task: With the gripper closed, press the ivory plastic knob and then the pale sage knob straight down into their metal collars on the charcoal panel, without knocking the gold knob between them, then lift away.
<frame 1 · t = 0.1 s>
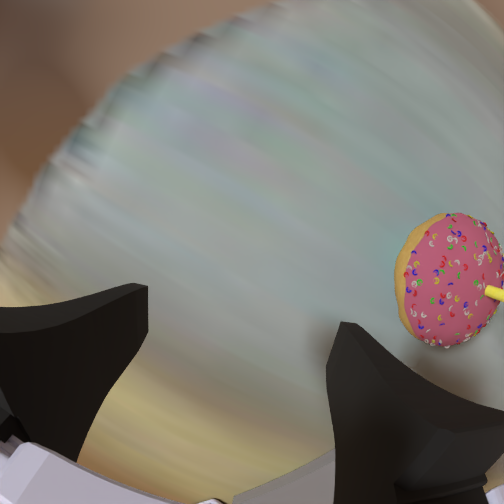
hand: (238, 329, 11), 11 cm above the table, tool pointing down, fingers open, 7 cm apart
cupcake: (423, 268, 20), on the table
panel: (368, 501, 23), on the table
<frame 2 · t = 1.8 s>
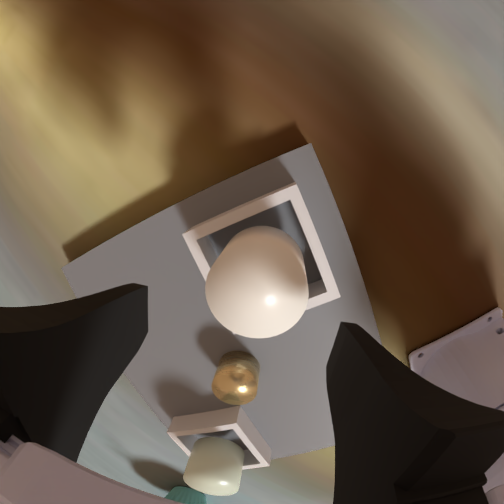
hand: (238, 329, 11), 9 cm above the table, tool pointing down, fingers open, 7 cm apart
gold knob: (239, 367, 21), point 1 cm above the table, touching panel
cupcake: (190, 492, 31), on the table
ivory knob: (259, 278, 14), point 5 cm above the table, slide at 0.0 cm
panel: (242, 355, 22), on the table
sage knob: (214, 467, 20), point 5 cm above the table, slide at 0.0 cm
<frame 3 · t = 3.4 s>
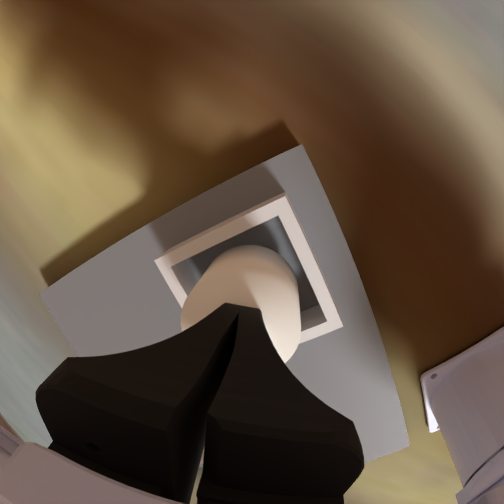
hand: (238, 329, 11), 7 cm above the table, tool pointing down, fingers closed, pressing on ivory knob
ivory knob: (245, 308, 12), point 5 cm above the table, slide at 0.6 cm, touching gripper
panel: (236, 384, 19), on the table
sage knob: (212, 498, 17), point 5 cm above the table, slide at 0.0 cm
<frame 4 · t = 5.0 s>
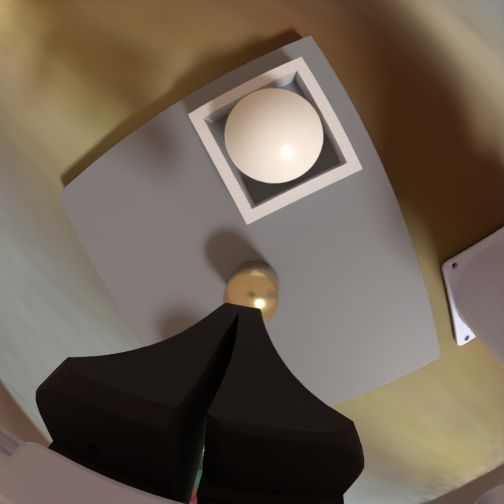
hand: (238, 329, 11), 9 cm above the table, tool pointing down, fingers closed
gold knob: (254, 283, 19), point 1 cm above the table, touching panel
cupcake: (204, 476, 29), on the table
ivory knob: (274, 138, 14), point 3 cm above the table, slide at 2.0 cm, touching panel
panel: (257, 275, 20), on the table
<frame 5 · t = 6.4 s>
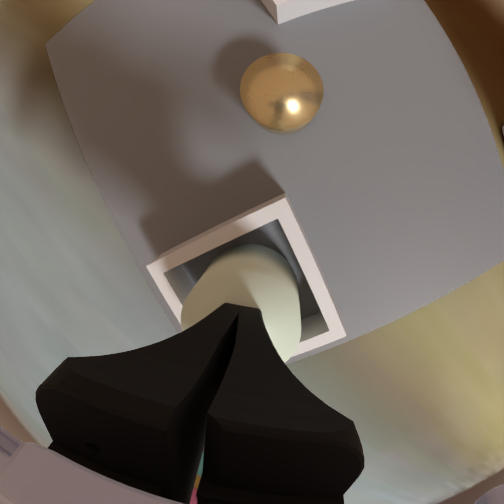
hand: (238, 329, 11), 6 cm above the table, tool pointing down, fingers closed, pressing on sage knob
gold knob: (282, 102, 12), point 1 cm above the table, touching panel
panel: (282, 108, 13), on the table
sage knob: (245, 307, 12), point 4 cm above the table, slide at 1.5 cm, touching gripper
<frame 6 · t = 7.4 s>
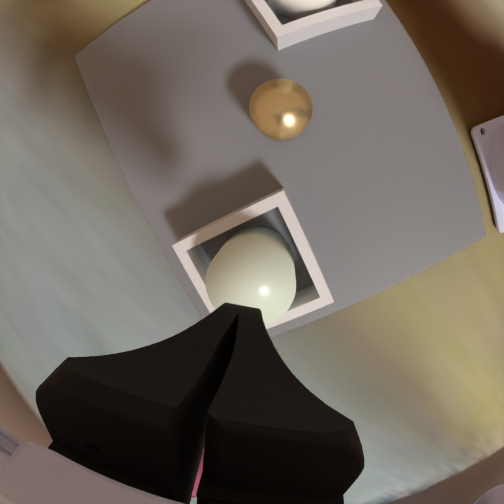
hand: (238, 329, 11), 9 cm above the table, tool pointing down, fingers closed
gold knob: (281, 115, 15), point 1 cm above the table, touching panel
panel: (281, 119, 17), on the table
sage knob: (253, 273, 16), point 3 cm above the table, slide at 2.0 cm, touching panel
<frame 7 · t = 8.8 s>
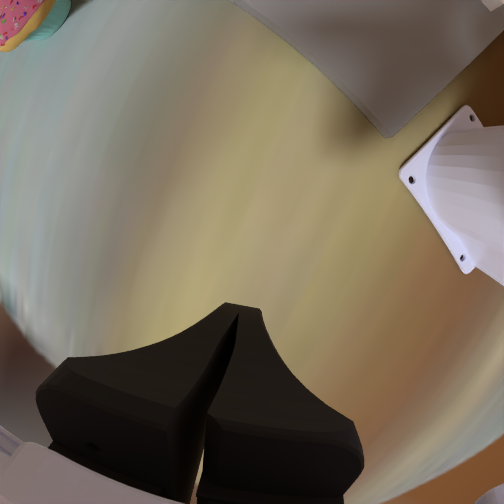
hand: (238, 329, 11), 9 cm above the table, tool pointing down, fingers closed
cupcake: (54, 17, 16), on the table
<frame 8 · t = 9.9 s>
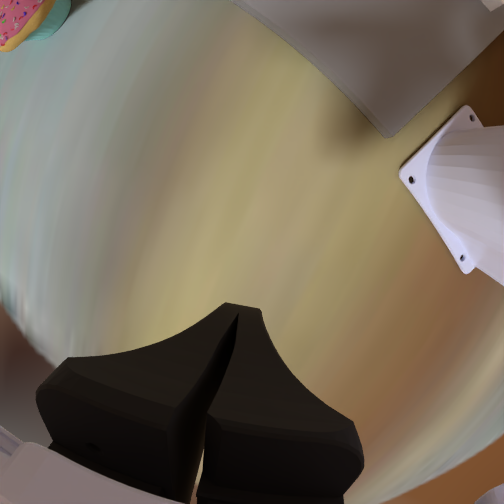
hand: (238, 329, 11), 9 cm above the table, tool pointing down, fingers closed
cupcake: (54, 17, 16), on the table
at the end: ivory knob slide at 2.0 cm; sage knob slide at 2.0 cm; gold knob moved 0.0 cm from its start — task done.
